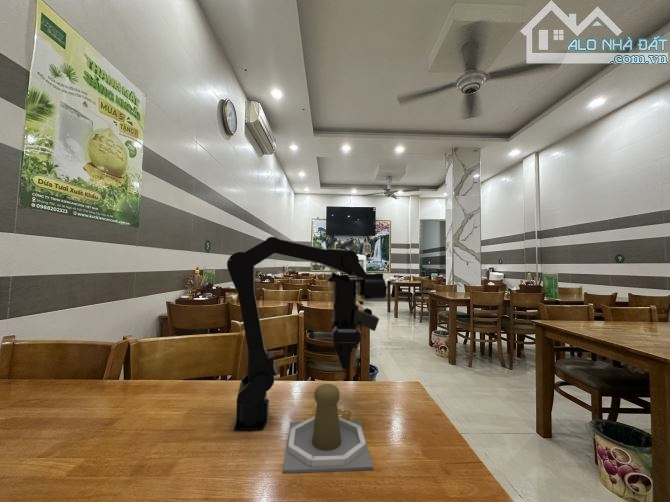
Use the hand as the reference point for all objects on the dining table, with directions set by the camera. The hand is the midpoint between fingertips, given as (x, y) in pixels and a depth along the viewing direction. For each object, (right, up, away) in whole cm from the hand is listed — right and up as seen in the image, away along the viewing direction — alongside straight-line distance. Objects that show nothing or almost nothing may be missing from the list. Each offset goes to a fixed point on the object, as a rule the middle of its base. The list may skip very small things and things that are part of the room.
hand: (344, 362), depth 73 cm
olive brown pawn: (-4, -11, -13) cm, 18 cm away
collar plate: (-4, -11, -13) cm, 18 cm away
